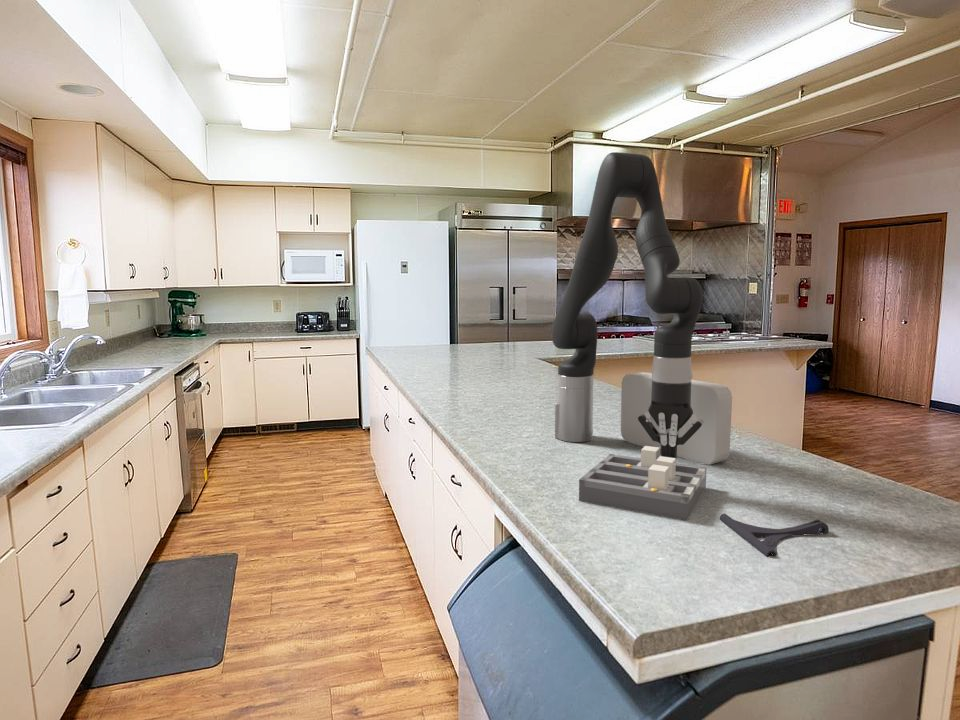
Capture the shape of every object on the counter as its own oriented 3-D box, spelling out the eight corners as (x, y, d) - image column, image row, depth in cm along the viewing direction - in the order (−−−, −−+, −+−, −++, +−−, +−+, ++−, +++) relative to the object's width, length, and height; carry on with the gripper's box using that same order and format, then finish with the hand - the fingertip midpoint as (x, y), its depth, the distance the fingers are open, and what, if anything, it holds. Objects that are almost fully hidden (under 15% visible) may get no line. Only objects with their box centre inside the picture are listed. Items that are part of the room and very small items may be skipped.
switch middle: (650, 481, 115) (650, 459, 114) (654, 476, 118) (655, 455, 117) (676, 485, 112) (677, 463, 112) (680, 480, 115) (681, 458, 115)
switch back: (635, 469, 122) (636, 449, 122) (640, 464, 125) (640, 445, 125) (660, 473, 120) (661, 452, 119) (664, 468, 123) (665, 448, 122)
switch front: (642, 491, 110) (642, 468, 109) (646, 485, 113) (647, 463, 112) (670, 495, 107) (670, 472, 107) (674, 489, 110) (674, 467, 110)
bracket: (856, 555, 92) (858, 538, 92) (766, 560, 91) (767, 543, 90) (798, 519, 106) (799, 504, 106) (718, 523, 105) (719, 508, 105)
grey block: (735, 461, 138) (739, 385, 135) (715, 467, 134) (718, 388, 131) (639, 435, 161) (641, 370, 159) (620, 440, 157) (621, 372, 155)
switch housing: (578, 500, 114) (579, 478, 114) (609, 472, 131) (610, 453, 130) (687, 520, 104) (688, 496, 104) (705, 487, 121) (706, 466, 120)
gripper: (633, 379, 118) (631, 463, 121) (703, 384, 112) (699, 473, 114) (642, 373, 125) (640, 453, 127) (709, 378, 118) (706, 462, 121)
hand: (668, 462), depth 121 cm, fingers closed
